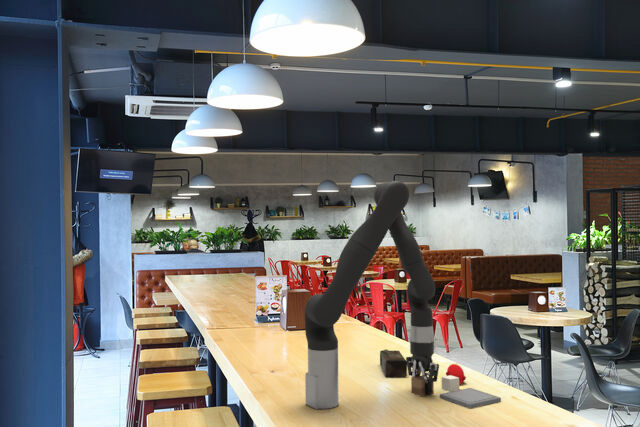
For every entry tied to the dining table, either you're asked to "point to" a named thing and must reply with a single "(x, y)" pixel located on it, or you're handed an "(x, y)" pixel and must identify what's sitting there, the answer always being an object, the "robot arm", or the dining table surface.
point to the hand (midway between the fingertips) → (422, 392)
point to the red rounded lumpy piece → (456, 372)
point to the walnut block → (419, 386)
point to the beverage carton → (393, 363)
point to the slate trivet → (470, 397)
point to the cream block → (450, 383)
